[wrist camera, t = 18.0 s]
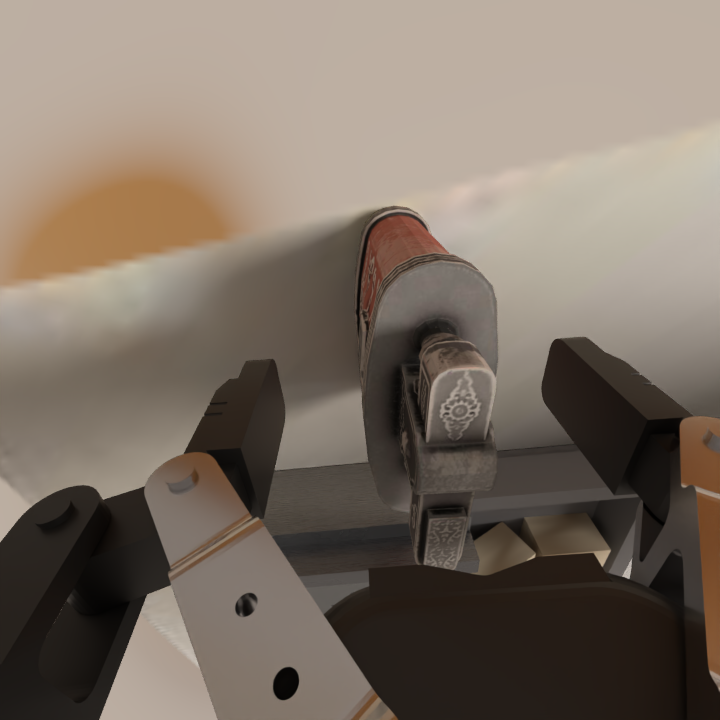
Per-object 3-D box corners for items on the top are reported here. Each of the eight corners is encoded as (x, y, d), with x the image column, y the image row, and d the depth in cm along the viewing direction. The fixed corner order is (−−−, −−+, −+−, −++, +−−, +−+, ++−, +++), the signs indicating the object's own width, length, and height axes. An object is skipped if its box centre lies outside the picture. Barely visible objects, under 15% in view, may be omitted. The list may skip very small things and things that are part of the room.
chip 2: (542, 555, 21) (524, 517, 23) (530, 591, 23) (514, 553, 25) (611, 549, 21) (586, 512, 23) (592, 586, 23) (571, 549, 25)
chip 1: (502, 521, 23) (536, 553, 22) (494, 557, 26) (525, 588, 24) (455, 554, 22) (487, 591, 20) (451, 589, 24) (480, 626, 22)
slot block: (449, 455, 21) (481, 547, 16) (439, 592, 29) (459, 681, 24) (223, 475, 21) (189, 573, 16) (274, 607, 29) (262, 699, 24)
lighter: (350, 207, 14) (367, 316, 5) (439, 204, 14) (598, 306, 5) (356, 382, 18) (371, 602, 9) (424, 379, 18) (501, 594, 10)
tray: (632, 439, 21) (673, 481, 18) (572, 580, 29) (595, 623, 26) (449, 455, 21) (465, 499, 18) (439, 592, 29) (449, 637, 26)
